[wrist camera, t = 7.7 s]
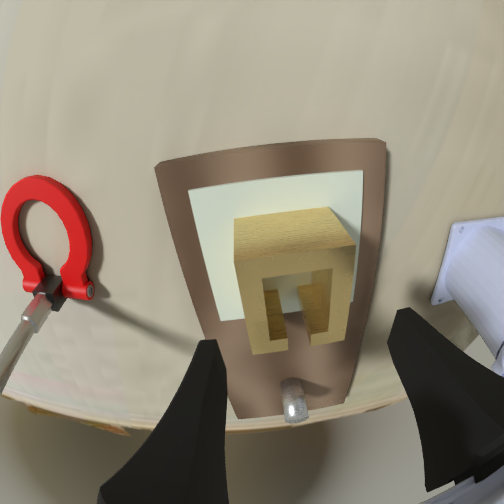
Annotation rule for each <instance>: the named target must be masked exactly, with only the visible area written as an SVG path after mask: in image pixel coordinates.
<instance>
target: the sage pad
mask: <svg viewBox="0 0 504 504" xmlns="http://www.w3.org/2000/svg"><path fill="white" fill-rule="evenodd" d="M188 193H189V198H190V202H191V206H192V211H193V215H194V220H195V224H196V228H197V232H198V236H199V241H200V245H201V249H202V253H203V257H204V261H205V265H206V269H207V272H208V276H209V280H210V284H211V288H212V291H213V295H214V299H215V302H216V306H217V310H218V313H219V317H220V320H221V321H227V320H236V319H244V318H245V316H244V311H243V306H242V301H241V296H240V291H239V286H238V281H237V276H236V271H235V266H234V218H241V217H248V216H256V215H263V214H271V213H278V212H286V211H295V210H303V209H311V208H320V207H329V208H330V209H331V211H332V212H333V213H334V215H335V216H336V217H337V219H338V220H339V221H340V223H341V224H342V226H343V227H344V228H345V230H346V231H347V232H348V234H349V235H350V237H351V238H352V239H353V241H354V242H355V244H356V253H355V264H354V274H353V283H352V292H351V299H350V302H353V297H354V289H355V282H356V273H357V264H358V254H359V243H360V231H361V216H362V195H363V171H362V170H353V171H338V172H325V173H313V174H302V175H292V176H283V177H274V178H266V179H258V180H250V181H243V182H235V183H228V184H222V185H215V186H209V187H203V188H197V189H191V190H188ZM262 284H263V291H266V290H273V289H278V292H279V297H280V302H281V307H282V312H283V313H289V312H296V311H301V309H300V305H299V302H298V297H297V286H301V285H308V284H311V272H304V273H297V274H290V275H283V276H276V277H269V278H262Z"/></svg>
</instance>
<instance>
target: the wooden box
mask: <svg viewBox="0 0 504 504" xmlns="http://www.w3.org/2000/svg"><path fill="white" fill-rule="evenodd" d="M355 253H356V244H355V242H354V241H353V239H352V238H351V237H350V235H349V234H348V232H347V231H346V230H345V228H344V227H343V226H342V224H341V223H340V221H339V220H338V219H337V217H336V216H335V215H334V213H333V212H332V211H331V209H330V208H329V207H320V208H311V209H303V210H295V211H286V212H278V213H271V214H263V215H256V216H248V217H241V218H234V266H235V271H236V276H237V281H238V286H239V291H240V296H241V301H242V306H243V311H244V316H245V321H246V326H247V331H248V336H249V341H250V345H251V350H252V355H256V354H264V353H272V352H279V351H286V350H288V338H287V333H286V327H285V322H284V317H283V312H282V307H281V302H280V297H279V292H278V289H273V290H266V291H263V284H262V278H269V277H276V276H283V275H290V274H297V273H304V272H311V284H308V285H301V286H297V297H298V302H299V305H300V309H301V313H302V316H303V320H304V324H305V328H306V331H307V335H308V339H309V343H310V347H311V346H316V345H322V344H327V343H332V342H337V341H342V340H344V339H345V333H346V327H347V321H348V314H349V307H350V299H351V292H352V283H353V274H354V264H355Z"/></svg>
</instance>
